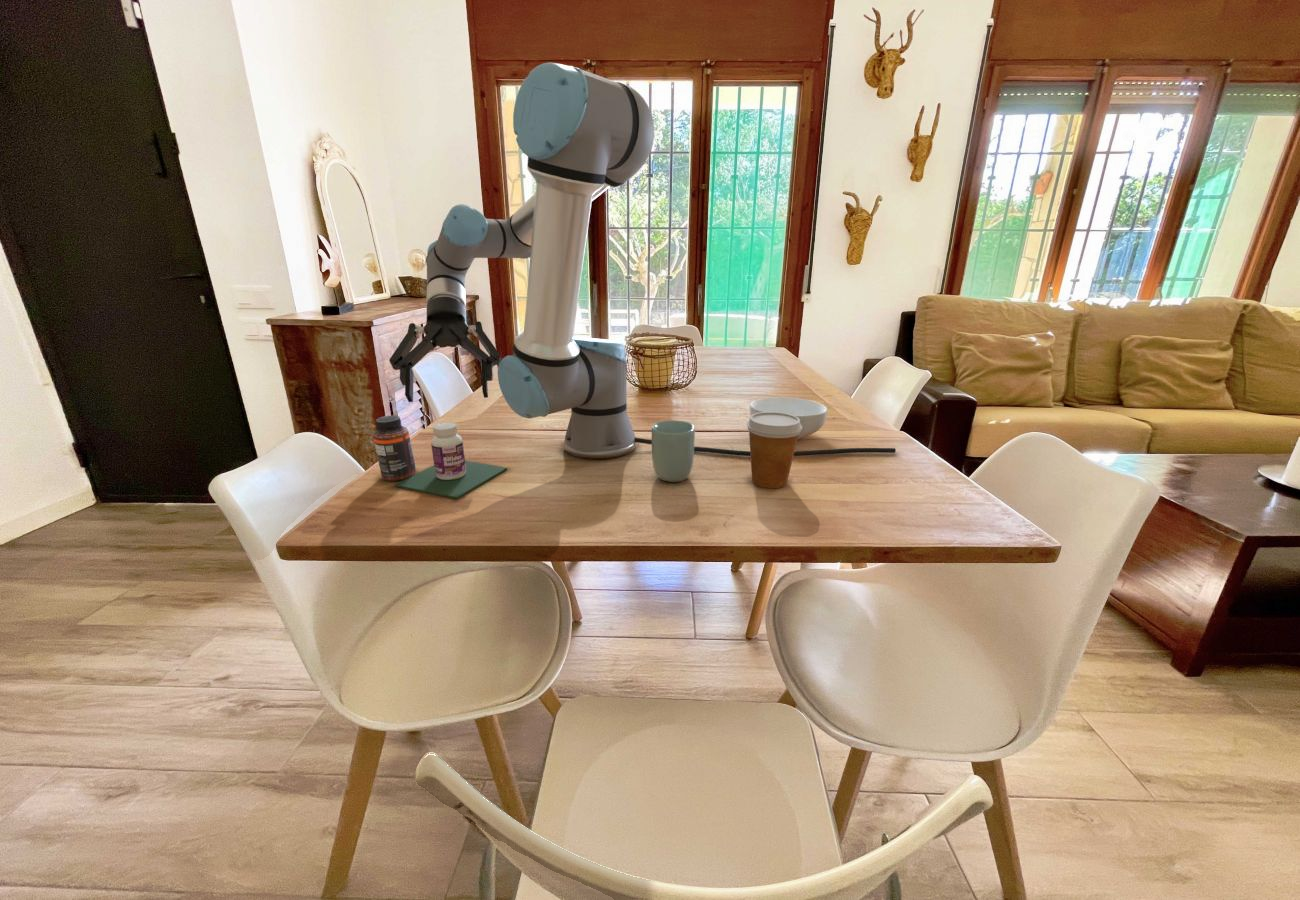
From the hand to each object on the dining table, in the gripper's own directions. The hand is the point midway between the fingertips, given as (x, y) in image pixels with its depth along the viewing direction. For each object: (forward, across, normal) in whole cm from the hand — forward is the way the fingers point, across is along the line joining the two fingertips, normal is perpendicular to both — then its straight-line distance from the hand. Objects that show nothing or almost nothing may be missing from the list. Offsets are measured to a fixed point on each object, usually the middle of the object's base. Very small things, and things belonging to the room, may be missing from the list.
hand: (447, 396), depth 97 cm
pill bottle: (+14, 0, -5) cm, 15 cm away
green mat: (+15, 0, -5) cm, 15 cm away
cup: (+22, -40, +2) cm, 45 cm away
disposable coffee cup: (+26, -56, +6) cm, 62 cm away
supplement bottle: (+12, +10, -7) cm, 18 cm away
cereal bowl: (+9, -72, -11) cm, 73 cm away
